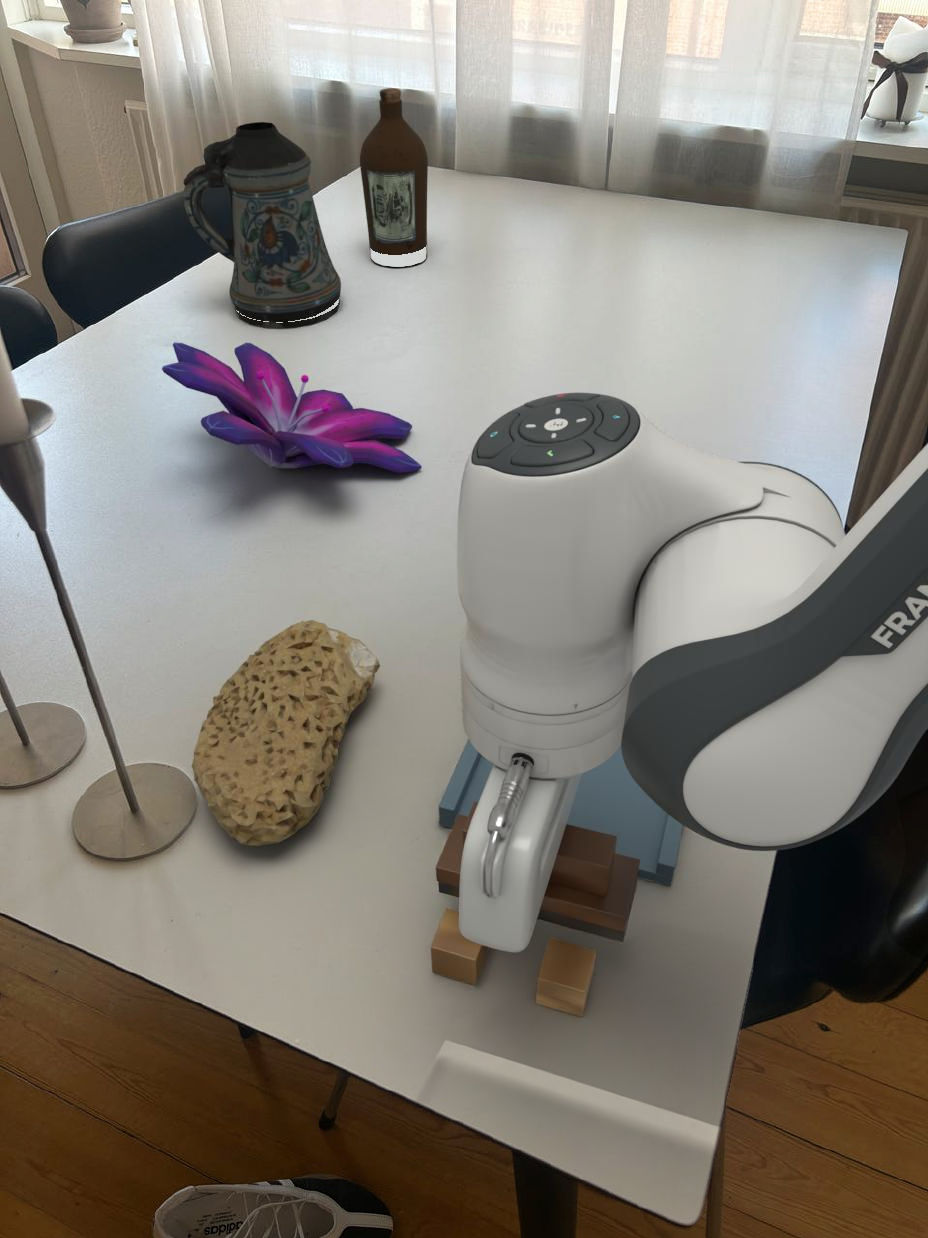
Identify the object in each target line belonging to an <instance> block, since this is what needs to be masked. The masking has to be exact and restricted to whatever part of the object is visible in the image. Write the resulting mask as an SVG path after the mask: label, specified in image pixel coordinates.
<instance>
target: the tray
mask: <svg viewBox="0 0 928 1238" xmlns="http://www.w3.org/2000/svg"><path fill="white" fill-rule="evenodd" d="M493 765H494V764H493V763H491V762H490V761H488V760H487V759H486V758H485V757H483V756H482V755H481V754H480V753H479V752H478V751H477V750H476V749H475V748H474V746H473V745H472V744H471V742H470V740H469V739H468V738H467V741H466V743H465V746H464V748H463V750H462V752H461V755H460V757H459V759H458V761H457V764H456V767H455V768H454V770H453V773H452V775H451V777H450V780H449V782H448V784H447V787H446V789H445V791H444V794H443V795H442V798H441V800H440V802H439V804H438V825H439V826H440V827H444V828H448V829H450V830H451V829H452V827H453V825H454V822H455V820H456V818H457V815H458V814H460V815H464V816H469V813H470V811H471V808H472V806H473V803H474V802H475V801H476V802H479V800H480V797H481V795H482V792H483V790H484V787H485V785H486V782H487V780H488V778H489V775H490V773H491V770H492V768H493ZM567 824H569V825H573V826H577V827H581V828H586V829H590V830H594V831H598V832H602V833H606V834H610V835H614V836H617V842H616V850H615V853H616V854H620V855H624V856H628V857H632V858H636V859H640V866H639V872H638V877H637V878H640V879H644V880H646V881H647V880H648V881H650V882H654V883H659V884H663V885H666V886H669V887H670V886H672V884H673V880H674V875H675V871H676V870H675V869H676V866H677V859H678V855H679V850H680V846H681V845H680V844H681V840H682V839H681V838H682V834H683V828H684V825H682V824H681V823H679V822H678V821H676V820H675V819H674V818H672V817H671V816H670V815H669V814H667V813H666V812H665V811H664V810H663V809H661V808H660V807H659V806H658V805H657V804H656V803H655V802H654V801H653V800H652V799H651V798H650V797H649V796H648V795H647V794H646V793H645V792H644V791H643V790H642V789H641V787H640V786H639V785H638V784H637V783H636V782H635V780H634V779H633V778H632V776H631V775H630V773H629V771H628V769H627V768H626V765H625V763H624V760H623V756H622V750H621V745H620V747H619V748H618V749H617V751H616V752H615V753H614V754H613V755H612V756H611V757H610V758H609V759H608V760H606V761H605V762H604V763H602V764H601V765H599V766H597V767H595V768H594V769H592V770H589V771H587V772H584V773H582V775H581V778H580V782H579V785H578V788H577V791H576V794H575V798H574V801H573V804H572V807H571V811H570V814H569V817H568V820H567Z"/></svg>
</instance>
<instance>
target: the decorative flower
mask: <svg viewBox="0 0 928 1238" xmlns="http://www.w3.org/2000/svg"><path fill="white" fill-rule="evenodd" d="M172 347H173V350H174V353H175V356H176V360H177V362H174V363H173V362H172V363H170V364H165V365H163V366H162V367H161V371H162V372H163V373H164V374H165V375H167V376H168V377H169V378H171V379H173V380H174V381H176V382H177V383H179V384H181V385H182V386H183V387H185V388H186V389H189V390H193V391H196V392H200V393H204V394H206V395H210V396H213V397H216V399H218V401H219V402H220V403H221V404H222V405H223V407H224V408H225V409H226V410H220V411H216V412H214V413H211V414H208V415H206V416H204V417H202V418H201V419H200V425H201V427H202V428H203V429H204V430H205V431H206V432H207V433H208V435H210V436H212V437H214V438H216V439H220V440H222V441H225V442H228V443H229V444H230V443H231V444H233V445H235V446H246V447H247V448H248V449H249V450H250V451H251V453H253V454H254V455H255V456H256V457H258V458H259V459H260V460H261V461H263V463H265V464H266V465H267V466H268V467H270V468H271V467H274V468H275V469H298V468H299V469H300V468H305V467H310V466H316V465H320V464H325V465H329V466H332V467H335V468H338V469H343V468H348V467H351V466H352V465H354V464H368V465H372V466H375V467H378V468H381V469H385V470H387V471H391V472H394V473H398V474H401V473H411V472H417V471H419V470H421V469H422V467H423V466H422V465H421V464H420V463H419V462H418V461H417V460H415V459H414V458H413V457H411V456H410V455H409V454H408V453H406V452H405V451H403V450H401V449H399V448H396V447H394V446H392V445H389V444H386V443H384V442H382V441H379V440H376V439H389V440H404V439H405V438H406V437H407V435H408V434H409V433H410V431H412V429H413V424H411V423H410V422H408V421H406V420H404V419H402V418H399V417H397V416H396V415H393V414H390V413H388V412H384V411H378V410H374V409H369V408H364V407H357V408H354V407H353V405H352V404H351V402H350V401H349V400H348V399H347V397H346V396H345V394H344V393H342V392H338V391H332V390H328V389H317V390H310V391H306V392H304V390H305V387H306V385H307V383H309V376H308V375H307V374H303V375H301V377H300V382H302V383H301V387H300V390H299V393H298V395H297V394H296V392H295V389H294V387H293V384H292V383H291V380H290V377H289V375H288V373H287V371H286V369H285V367H284V366H283V365H282V364H281V363H280V362H279V361H278V360H277V359H276V358H275V357H274V356H273V355H272V354H271V353H268V351H266V350H264V349H262V348H260V347H259V346H257V345H255V344H253V343H251V342H244V343H243V344H241V345H238V346H236V347H235V348H234V350H233V351H234V355H235V357H236V359H237V361H238V364H239V366H240V369H241V373H242V378H243V379H242V378H241V377H240V376H239V374H238V373H237V372H236V370H234V369H233V368H232V367H231V366H229V365H228V364H226V363H225V362H223V361H222V360H219V359H218V358H217V357H215V356H214V355H211V354H210V353H208V352H206V351H204V350H202V349H199V348H196V347H194V346H192V345H189V344H186V343H183V342H173V344H172Z"/></svg>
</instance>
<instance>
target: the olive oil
mask: <svg viewBox="0 0 928 1238" xmlns="http://www.w3.org/2000/svg"><path fill="white" fill-rule="evenodd" d="M379 97H380V100H379V114H380V117H379V119H378V122H376V124H375V125H374V126H373V128H372V129H371V130H370V132H369V133H368V135H367V136H366V137H365V139H364V140H363V142H362V144H361V147H360V148H361V150H360V152H359V153H360V154H359V167H360V168H359V169H360V176H361V183H362V184H361V185H362V191H363V192H362V193H363V199H364V200H363V201H364V207H365V217H366V225H367V234H368V244H369V249H370V248H371V249H372V250H373V251H375V252H378V253H380V254H381V253H382V254H388V255H402V254H408V253H413V252H416V251H419V250H421V249H423V248H424V247H426V245H427V246H428V177H429V176H428V171H429V169H428V168H429V160H428V153H427V149H426V146H425V143H424V141H423V139H422V138H421V136H419V134H418V133H417V132H416V131H415V130H414V129H413V128H412V127H411V126H410V124H408V123H407V121H406V120H405V118H404V117H403V100H402V99H401V97H402V93H401V89H399V88H392V87H390V88H382V89H381V90H379Z"/></svg>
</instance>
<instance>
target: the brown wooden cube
mask: <svg viewBox="0 0 928 1238" xmlns="http://www.w3.org/2000/svg"><path fill="white" fill-rule="evenodd" d="M444 909H445V910H444V912H443V914H442V917H441V918H440V919H441V920H440V922H439V925H438V926H437V927H438V928H437V929H436V932H435V934H434V937H433V939H432V942H431V944H430V955H431V956H430V958H431V959H430V960H431V972H432V973H433V974H436V975H440V976H443V977H447V978H449V979H452V980H456V981H458V982H459V981H460V982H463V983H466V984H469V985H473V986H477V984H478V982H479V979H480V976H481V973H482V971H483V968H484V964H485V961H486V958H487V955H488V953H489V949H490V947H487V946H484V945H481V944H478V943H475V942H472V941H470V940H468V939H466V938H465V937H464V936H463V935H462V934H461V932H460V929H459V910H456V909H453V908H449V907H446V908H444Z"/></svg>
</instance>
